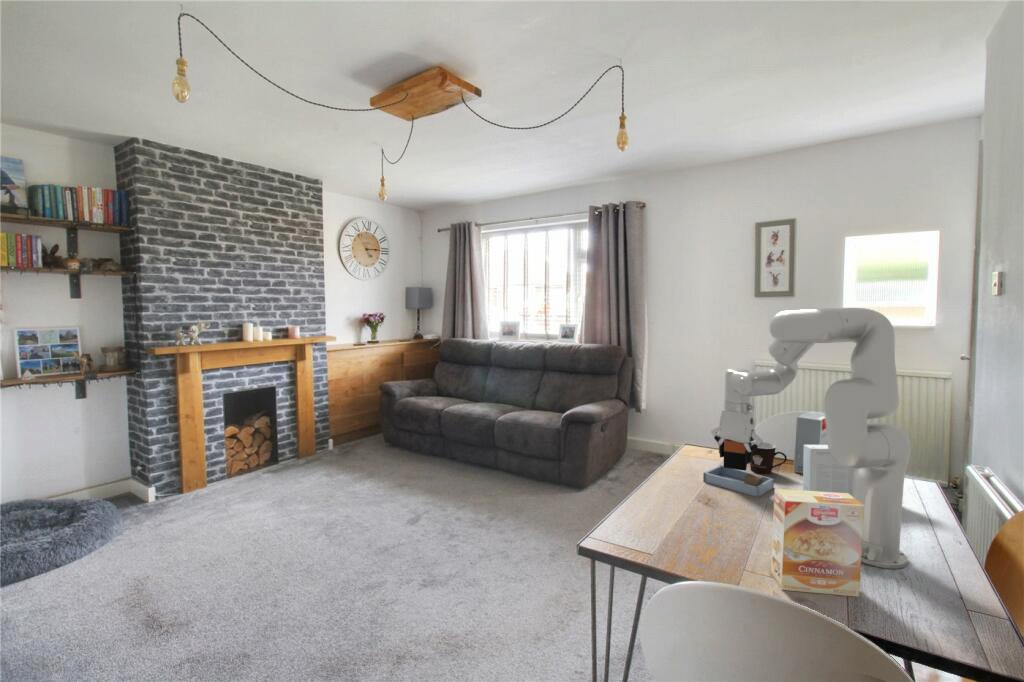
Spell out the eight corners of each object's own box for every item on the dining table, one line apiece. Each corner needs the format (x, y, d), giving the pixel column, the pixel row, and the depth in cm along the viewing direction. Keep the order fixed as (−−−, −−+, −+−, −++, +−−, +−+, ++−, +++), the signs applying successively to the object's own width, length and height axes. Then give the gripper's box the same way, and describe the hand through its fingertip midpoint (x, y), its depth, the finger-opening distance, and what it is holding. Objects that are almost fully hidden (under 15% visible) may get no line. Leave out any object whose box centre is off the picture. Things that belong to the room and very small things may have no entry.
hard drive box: (817, 478, 166) (820, 420, 164) (793, 472, 171) (795, 416, 170) (831, 467, 176) (833, 413, 174) (807, 462, 182) (809, 409, 180)
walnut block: (757, 492, 152) (757, 479, 152) (744, 488, 155) (744, 476, 155) (762, 489, 155) (763, 476, 154) (749, 485, 158) (750, 473, 157)
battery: (724, 464, 163) (725, 434, 162) (746, 467, 160) (747, 437, 159) (723, 468, 159) (724, 438, 158) (746, 471, 156) (747, 440, 155)
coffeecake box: (781, 590, 102) (785, 500, 100) (769, 572, 109) (772, 487, 107) (861, 598, 99) (866, 505, 97) (843, 578, 106) (848, 491, 104)
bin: (757, 499, 148) (758, 488, 148) (703, 483, 162) (703, 472, 161) (773, 489, 156) (773, 478, 156) (720, 474, 169) (720, 465, 169)
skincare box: (872, 494, 151) (874, 444, 150) (883, 502, 146) (886, 450, 144) (800, 492, 153) (802, 443, 152) (809, 499, 148) (811, 448, 147)
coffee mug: (741, 470, 174) (742, 442, 173) (761, 467, 176) (761, 440, 176) (767, 481, 163) (768, 452, 162) (787, 478, 165) (789, 449, 165)
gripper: (770, 409, 153) (767, 463, 155) (716, 400, 166) (715, 451, 168) (759, 413, 148) (757, 469, 150) (705, 404, 162) (704, 455, 163)
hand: (735, 459), depth 159 cm, fingers closed on battery, 7 cm apart
